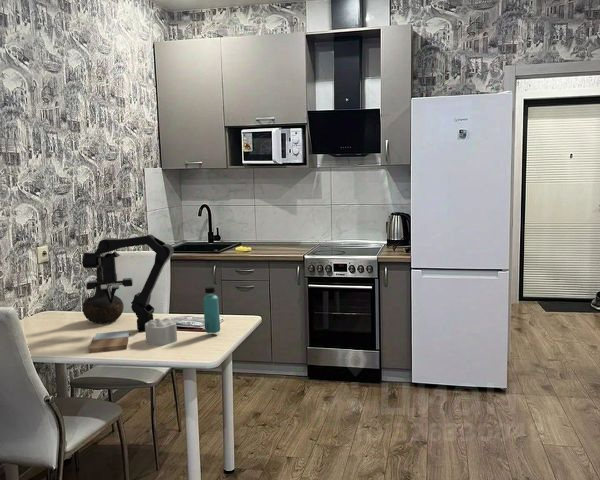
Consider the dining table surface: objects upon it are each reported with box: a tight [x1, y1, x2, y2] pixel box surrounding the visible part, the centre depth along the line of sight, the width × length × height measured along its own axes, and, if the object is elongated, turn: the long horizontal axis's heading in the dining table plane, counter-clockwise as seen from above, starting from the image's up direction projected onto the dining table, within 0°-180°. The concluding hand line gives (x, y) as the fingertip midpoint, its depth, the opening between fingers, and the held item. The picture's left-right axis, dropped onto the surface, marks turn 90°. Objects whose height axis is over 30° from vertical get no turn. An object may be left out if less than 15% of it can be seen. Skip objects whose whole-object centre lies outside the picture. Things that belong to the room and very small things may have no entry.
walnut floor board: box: [88, 337, 129, 354], centre depth 228 cm, size 14×12×2 cm
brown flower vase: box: [82, 265, 125, 325], centre depth 267 cm, size 18×18×28 cm
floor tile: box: [93, 330, 130, 340], centre depth 239 cm, size 13×10×2 cm
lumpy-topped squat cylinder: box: [144, 317, 178, 347], centre depth 233 cm, size 10×13×9 cm
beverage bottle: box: [202, 286, 221, 334], centre depth 238 cm, size 6×7×20 cm
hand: (111, 303), depth 251 cm, fingers closed
